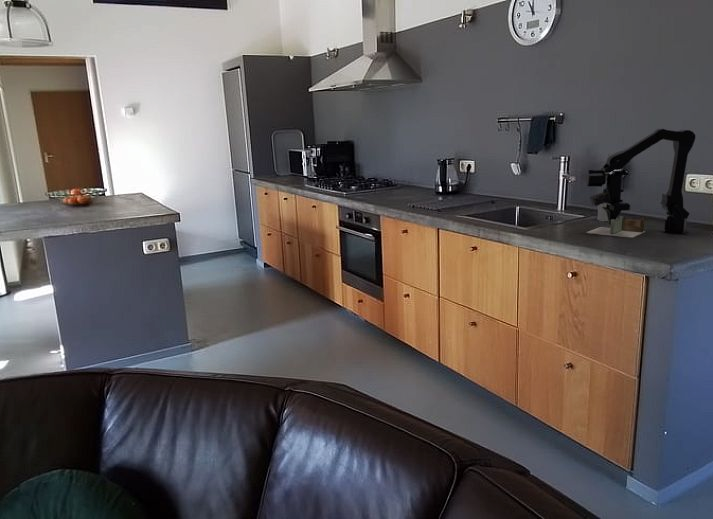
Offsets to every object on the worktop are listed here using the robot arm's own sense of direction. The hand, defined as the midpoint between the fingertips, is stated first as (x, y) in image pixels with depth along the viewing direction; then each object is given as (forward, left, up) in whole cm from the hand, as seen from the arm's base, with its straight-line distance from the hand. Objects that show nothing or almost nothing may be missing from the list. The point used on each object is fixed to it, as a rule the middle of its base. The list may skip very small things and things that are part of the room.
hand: (610, 224), depth 222 cm
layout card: (-2, 0, -3) cm, 4 cm away
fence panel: (-2, +1, -3) cm, 4 cm away
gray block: (+12, -27, -3) cm, 29 cm away
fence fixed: (-6, -5, -3) cm, 8 cm away
